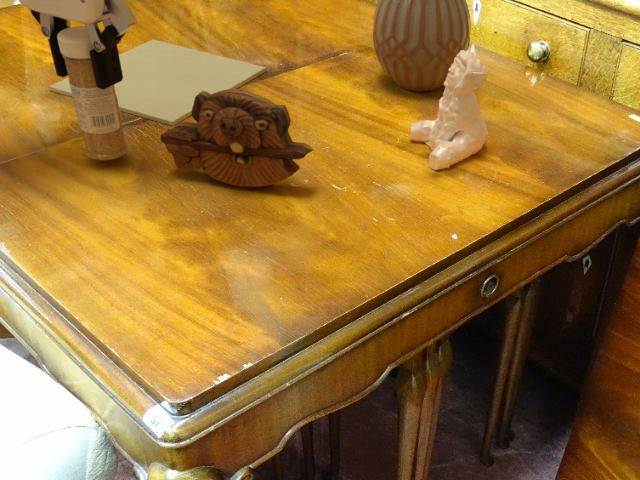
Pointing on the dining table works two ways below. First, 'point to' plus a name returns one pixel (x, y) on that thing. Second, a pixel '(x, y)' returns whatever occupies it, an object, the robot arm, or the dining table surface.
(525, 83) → the dining table surface
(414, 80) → the vase
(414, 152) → the dining table surface
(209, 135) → the wooden carving
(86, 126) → the sprinkles bottle
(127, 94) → the felt mat
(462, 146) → the white creature statuette
